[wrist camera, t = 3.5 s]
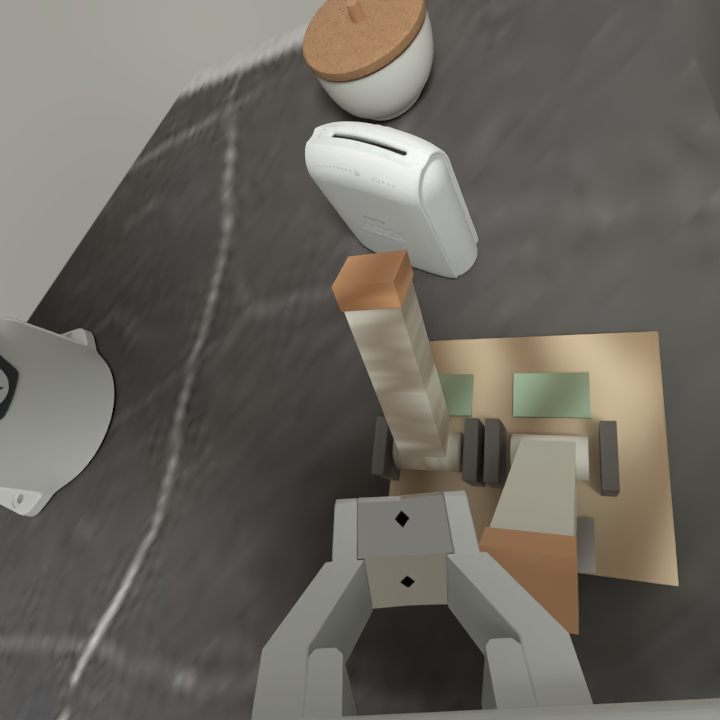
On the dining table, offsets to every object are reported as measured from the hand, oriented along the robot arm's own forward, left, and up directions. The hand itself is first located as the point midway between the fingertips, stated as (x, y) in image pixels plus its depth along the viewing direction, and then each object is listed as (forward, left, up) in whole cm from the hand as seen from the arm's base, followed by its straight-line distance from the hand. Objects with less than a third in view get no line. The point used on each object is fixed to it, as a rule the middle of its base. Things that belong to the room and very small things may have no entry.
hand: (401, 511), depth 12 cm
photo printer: (-8, +22, -22) cm, 32 cm away
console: (0, +6, -22) cm, 23 cm away
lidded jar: (-12, +39, -22) cm, 46 cm away
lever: (+2, +5, -20) cm, 21 cm away
